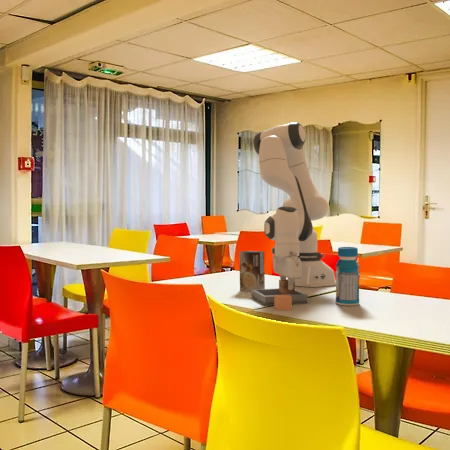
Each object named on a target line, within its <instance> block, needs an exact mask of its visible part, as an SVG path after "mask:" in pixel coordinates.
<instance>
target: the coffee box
mask: <svg viewBox="0 0 450 450" xmlns="http://www.w3.org/2000/svg"><path fill="white" fill-rule="evenodd" d="M238 255H239V291H240V292H248V293H249V292H250V293H252V290H257V289H266V288H265V287H266V286H265V285H266V284H265V282H266V281H265V279H266V278H265V277H266V276H265V273H266V271H265V251H261V250H242V251H239V254H238Z"/></svg>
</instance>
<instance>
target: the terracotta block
mask: <svg viewBox="0 0 450 450" xmlns="http://www.w3.org/2000/svg"><path fill="white" fill-rule="evenodd" d="M292 305H293V304H292V297H291V296H289V295H274V305H273V307H274V309H275V310H277V311H279V310H280V311H291V310H292V309H293V306H292Z"/></svg>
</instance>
